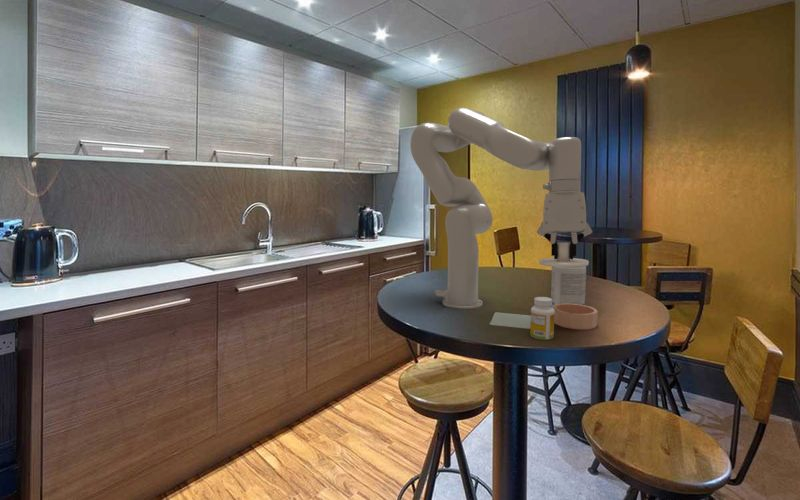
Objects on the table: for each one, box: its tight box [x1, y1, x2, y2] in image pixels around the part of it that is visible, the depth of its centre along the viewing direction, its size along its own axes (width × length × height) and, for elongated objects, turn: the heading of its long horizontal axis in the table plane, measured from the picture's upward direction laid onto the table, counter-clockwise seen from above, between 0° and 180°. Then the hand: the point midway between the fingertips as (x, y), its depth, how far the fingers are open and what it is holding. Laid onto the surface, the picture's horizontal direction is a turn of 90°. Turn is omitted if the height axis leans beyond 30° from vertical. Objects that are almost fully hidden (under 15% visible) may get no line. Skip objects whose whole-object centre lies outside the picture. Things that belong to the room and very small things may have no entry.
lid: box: [538, 242, 590, 268], centre depth 102 cm, size 12×12×5 cm
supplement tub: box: [550, 266, 587, 308], centre depth 119 cm, size 10×10×15 cm
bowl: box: [552, 303, 599, 330], centre depth 104 cm, size 11×11×4 cm
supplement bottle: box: [529, 296, 555, 340], centre depth 94 cm, size 5×5×10 cm
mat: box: [489, 311, 531, 330], centre depth 107 cm, size 12×12×1 cm
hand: (563, 258), depth 102 cm, fingers closed on lid, 3 cm apart
